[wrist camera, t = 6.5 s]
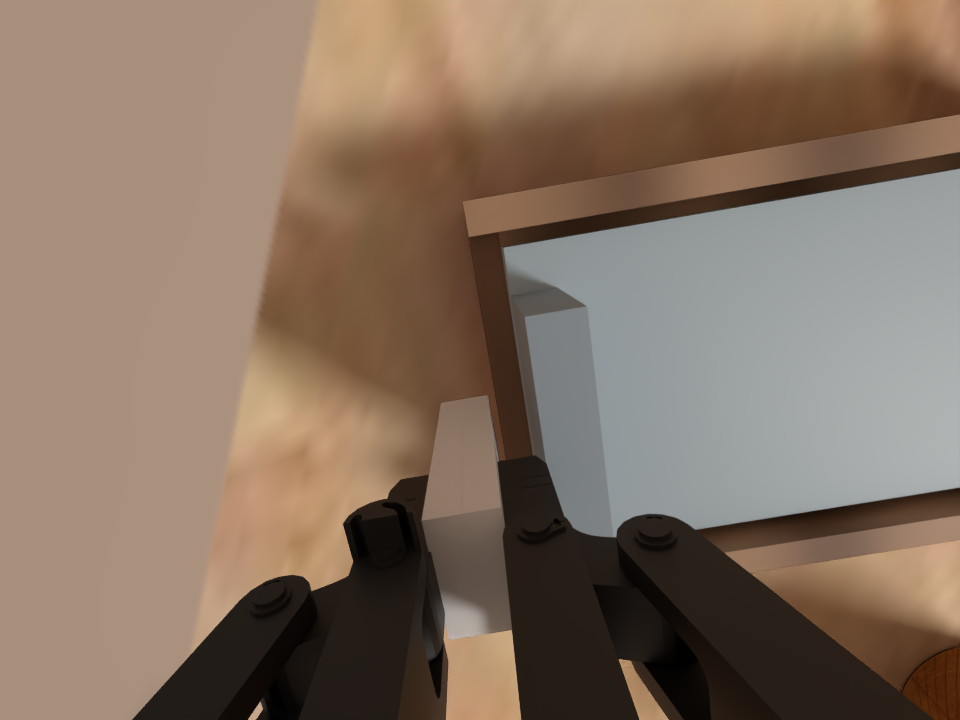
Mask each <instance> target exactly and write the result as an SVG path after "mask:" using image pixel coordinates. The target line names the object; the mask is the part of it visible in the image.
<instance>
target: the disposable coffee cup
mask: <svg viewBox="0 0 960 720" xmlns="http://www.w3.org/2000/svg"><path fill="white" fill-rule="evenodd" d="M902 694H903V695H904V696H905V697H907V698H908V699H909V700H910V701H912V702H913V703H914V704H915V705H917V706H918V707H919V708H920V709H922V710H923V711H924V712H925V713H927V714H928V715H929V716H930V717H932V718H933V719H934V720H960V647H957V648H953V649H950V650H947V651H944V652H942V653H940V654H938V655H936V656H935V657H933V658H931V659H929V660H928V661H926V662H925V663H924V664H922V665H921V666H920V667H919V668H918V669H917V670H916V671H915V672H914V673H913V674H912V676H911V677H910V679H909V680H908V682H907V683H906V685H905V687H904V689H903V692H902Z"/></svg>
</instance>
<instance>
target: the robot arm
mask: <svg viewBox="0 0 960 720" xmlns="http://www.w3.org/2000/svg"><path fill="white" fill-rule="evenodd" d="M343 526H344V529H345V533H346V537H347V540H348V544H349V547H350V551H351V555H352V558H353V565H352V567H351V570H350V573H349V576H347V577H346V578H344V579H341V580H339V581H337V582H335V583H332V584H330V585H327V586H325V587H322V588H319V589H317V590H314V591H311V587H310V584H309V582H308V581H307V580H306V579H305V578H304V577H301V576H296V575H289V576H282V577H277V578H274V579H272V580H268V581H266V582H264V583H263V584H261V585H259V586H258V587H256V588H254V589H253V590H251V591H250V592H249V593H248V594H247V595H245V596H244V597H243V598H242V599H241V600H240V601H239V602H238V603H237V604H236V605H235V606H234V607H233V609H232V610H231V611H230V612H229V613H228V614H227V615H226V616H225V617H224V619H223V620H222V621H221V622H220V623H219V624H218V625H217V626H216V627H215V629H214V630H213V631H212V632H211V633H210V634H209V635H208V636H207V637H206V639H205V640H204V641H203V642H202V643H201V644H200V645H199V646H198V647H197V648H196V650H195V651H194V652H193V653H192V654H191V655H190V656H189V657H188V658H187V660H186V661H185V662H184V663H183V664H182V665H181V666H180V667H179V669H178V670H177V671H176V672H175V673H174V674H173V675H172V676H171V677H170V678H169V680H168V681H167V682H166V683H165V684H164V685H163V686H162V687H161V689H159V691H158V692H157V693H156V694H155V695H154V696H153V697H152V698H151V699H150V701H149V702H148V703H147V704H146V705H145V706H144V707H143V708H142V710H141V711H140V712H139V713H138V714H137V715H136V716H135V717H134V718H133V720H248V719H249V717H250V716H251V714H252V713H253V711H254V710H255V708H256V707H257V705H258V704H259V702H260V701H261V704H262V707H263V710H262V712H261V713H260V715H259V716H258V718H257V719H256V720H446V703H447V681H448V658H447V653H446V649H445V644H444V640H443V638H444V623H445V625H446V629H447V634H448V638H449V640H452V639H458V638H464V637H470V636H477V635H483V634H489V633H495V632H502V631H508V630H512V634H513V644H514V653H515V663H516V672H517V682H518V692H519V701H520V711H521V720H639V717H638V714H637V712H636V709H635V706H634V703H633V700H632V697H631V694H630V691H629V688H628V686H627V683H626V680H625V677H624V674H623V671H622V668H621V665H620V662H619V660H618V659H623V660H631V662H632V664H633V666H634V669H635V671H636V673H637V674H638V675H639V677H640V678H641V680H642V681H643V683H644V684H645V686H646V687H647V688H648V690H649V691H650V693H651V694H652V696H653V697H654V699H655V700H656V702H657V703H658V704H659V706H660V707H661V709H662V710H663V712H664V713H665V715H666V716H667V718H668V719H669V720H934V719H933V718H932V717H930V716H929V715H928V714H927V713H925V712H924V711H923V710H922V709H920V708H919V707H918V706H917V705H915V704H914V703H913V702H912V701H910V700H909V699H908V698H907V697H905V696H904V695H903V694H901V693H900V692H899V691H898V690H896V689H895V688H894V687H893V686H891V685H890V684H889V683H888V682H886V681H885V680H884V679H883V678H881V677H880V676H879V675H878V674H876V673H875V672H874V671H873V670H871V669H870V668H869V667H867V666H866V665H865V664H864V663H862V662H861V661H860V660H859V659H857V658H856V657H855V656H854V655H852V654H851V653H850V652H849V651H847V650H846V649H845V648H844V647H842V646H841V645H840V644H839V643H837V642H836V641H835V640H833V639H832V638H831V637H830V636H828V635H827V634H826V633H825V632H823V631H822V630H821V629H820V628H818V627H817V626H816V625H815V624H813V623H812V622H811V621H810V620H808V619H807V618H806V617H805V616H803V615H802V614H801V613H799V612H798V611H797V610H796V609H794V608H793V607H792V606H791V605H789V604H788V603H787V602H786V601H784V600H783V599H782V598H781V597H779V596H778V595H777V594H776V593H774V592H773V591H772V590H770V589H769V588H768V587H767V586H765V585H764V584H763V583H762V582H760V581H759V580H758V579H757V578H755V577H754V576H753V575H752V574H750V573H749V572H748V571H747V570H745V569H744V568H743V567H742V566H740V565H739V564H738V563H736V562H735V561H734V560H733V559H731V558H730V557H729V556H728V555H726V554H725V553H724V552H723V551H721V550H720V549H719V548H718V547H716V546H715V545H714V544H713V543H711V542H710V541H709V540H708V539H706V538H705V537H704V536H702V535H701V534H700V533H699V532H697V531H696V530H695V529H694V528H692V527H691V526H690V525H689V524H687V523H685V522H683V521H682V520H680V519H678V518H675V517H671V516H667V515H663V514H644V515H639V516H634V517H632V518H630V519H628V520H626V521H624V522H623V523H622V524H621V525H620V527H619V528H618V529H617V535H616V537H601V536H593V535H589V534H585V533H582V532H580V531H578V530H576V529H574V528H573V527H572V524H571V523H570V522H569V520H568V519H567V518H566V517H564V514H563V511H562V508H561V505H560V502H559V499H558V496H557V493H556V490H555V487H554V485H553V481H552V478H551V476H550V472H549V469H548V466H547V463H546V462H544V461H543V460H541V459H540V458H539V457H537V456H536V455H534V456H528V457H523V458H517V459H511V460H505V461H500V459H499V453H498V448H497V442H496V437H495V431H494V425H493V420H492V414H491V409H490V403H489V397H488V395H483V396H478V397H472V398H466V399H460V400H454V401H449V402H443V403H441V406H440V412H439V418H438V424H437V430H436V436H435V442H434V448H433V454H432V460H431V466H430V472H429V475H425V476H419V477H413V478H407V479H401V480H400V481H399V482H398V483H397V484H396V485H395V486H394V487H393V488H392V489H391V490H390V492H389V496H388V499H383V500H379V501H375V502H372V503H369V504H367V505H365V506H363V507H361V508H359V509H357V510H356V511H355V512H353V513H352V514H351V515H349V516H348V518H347V519H346V520H345V522H344V523H343Z"/></svg>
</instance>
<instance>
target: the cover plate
mask: <svg viewBox="0 0 960 720" xmlns="http://www.w3.org/2000/svg"><path fill="white" fill-rule="evenodd" d="M501 250H502V257H503V263H504V270H505V276H506V283H507V289H508V296H509V303H510V309H511V316H512V322H513V329H514V335H515V342H516V348H517V355H518V361H519V368H520V374H521V381H522V387H523V394H524V400H525V407H526V413H527V420H528V426H529V433H530V439H531V446H532V453H533V456H534V455H536V456H537V457H539V458H540V459H541V460H543V461H544V462H546V463H547V466H548V469H549V472H550V476H551V478H552V481H553V485H554V487H555V490H556V493H557V496H558V499H559V502H560V505H561V508H562V511H563V514H564V517H566V518H567V519H568V520H569V522H570V523H571V524H572V527H573V528H574V529H576V530H578V531H580V532H582V533H585V534H589V535H593V536H601V537H616V535H617V529H618V528H619V527H620V525H621V524H622V523H623V522H624V521H626V520H628V519H630V518H632V517H634V516H639V515H644V514H663V515H667V516H671V517H675V518H678V519H680V520H682V521H683V522H685V523H687V524H689V525H690V526H691V527H692V528H694V529H695V530H697V529H704V528H710V527H716V526H722V525H729V524H735V523H741V522H747V521H754V520H760V519H766V518H772V517H779V516H785V515H791V514H797V513H804V512H810V511H816V510H822V509H829V508H835V507H841V506H847V505H854V504H860V503H866V502H872V501H879V500H885V499H891V498H898V497H904V496H910V495H916V494H923V493H929V492H935V491H941V490H948V489H954V488H960V167H959V168H953V169H947V170H941V171H936V172H930V173H924V174H918V175H913V176H907V177H901V178H895V179H889V180H884V181H878V182H872V183H866V184H860V185H855V186H849V187H843V188H837V189H832V190H826V191H820V192H814V193H808V194H803V195H797V196H791V197H785V198H780V199H774V200H768V201H762V202H756V203H751V204H745V205H739V206H733V207H727V208H722V209H716V210H710V211H704V212H699V213H693V214H687V215H681V216H675V217H670V218H664V219H658V220H652V221H647V222H641V223H635V224H629V225H623V226H618V227H612V228H606V229H600V230H594V231H589V232H583V233H577V234H571V235H566V236H560V237H554V238H548V239H542V240H537V241H531V242H525V243H519V244H514V245H508V246H502V247H501Z"/></svg>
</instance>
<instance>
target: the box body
mask: <svg viewBox="0 0 960 720" xmlns="http://www.w3.org/2000/svg"><path fill="white" fill-rule="evenodd" d="M959 167H960V115H954V116H948V117H942V118H937V119H931V120H925V121H920V122H914V123H908V124H902V125H897V126H891V127H885V128H880V129H874V130H868V131H862V132H857V133H851V134H845V135H840V136H834V137H828V138H823V139H817V140H811V141H805V142H800V143H794V144H788V145H783V146H777V147H771V148H765V149H760V150H754V151H748V152H743V153H737V154H731V155H725V156H720V157H714V158H708V159H703V160H697V161H691V162H685V163H680V164H674V165H668V166H663V167H657V168H651V169H645V170H640V171H634V172H628V173H623V174H617V175H611V176H605V177H600V178H594V179H588V180H583V181H577V182H571V183H566V184H560V185H554V186H548V187H543V188H537V189H531V190H526V191H520V192H514V193H508V194H503V195H497V196H491V197H486V198H480V199H474V200H468V201H463V207H464V213H465V218H466V224H467V230H468V236H469V242H470V247H471V253H472V259H473V265H474V271H475V277H476V283H477V289H478V295H479V301H480V307H481V313H482V319H483V324H484V330H485V336H486V342H487V348H488V354H489V360H490V366H491V372H492V378H493V384H494V390H495V396H496V402H497V407H498V413H499V419H500V425H501V431H502V437H503V443H504V449H505V455H506V460H511V459H517V458H523V457H528V456H533V453H532V446H531V439H530V433H529V426H528V420H527V413H526V407H525V400H524V394H523V387H522V381H521V374H520V368H519V361H518V355H517V348H516V342H515V335H514V329H513V322H512V316H511V309H510V303H509V296H508V289H507V283H506V276H505V270H504V263H503V257H502V250H501V247H502V246H508V245H514V244H519V243H525V242H531V241H537V240H542V239H548V238H554V237H560V236H566V235H571V234H577V233H583V232H589V231H594V230H600V229H606V228H612V227H618V226H623V225H629V224H635V223H641V222H647V221H652V220H658V219H664V218H670V217H675V216H681V215H687V214H693V213H699V212H704V211H710V210H716V209H722V208H727V207H733V206H739V205H745V204H751V203H756V202H762V201H768V200H774V199H780V198H785V197H791V196H797V195H803V194H808V193H814V192H820V191H826V190H832V189H837V188H843V187H849V186H855V185H860V184H866V183H872V182H878V181H884V180H889V179H895V178H901V177H907V176H913V175H918V174H924V173H930V172H936V171H941V170H947V169H953V168H959ZM696 531H697V532H699V533H700V534H701V535H702V536H704V537H705V538H706V539H708V540H709V541H710V542H711V543H713V544H714V545H715V546H716V547H718V548H719V549H720V550H721V551H723V552H724V553H725V554H726V555H728V556H729V557H730V558H731V559H733V560H734V561H735V562H736V563H738V564H739V565H740V566H742V567H743V568H744V569H745V570H747V571H748V572H749V573H754V572H760V571H766V570H773V569H779V568H786V567H792V566H798V565H805V564H811V563H817V562H824V561H830V560H836V559H843V558H849V557H855V556H862V555H868V554H874V553H881V552H887V551H893V550H900V549H906V548H912V547H919V546H925V545H931V544H938V543H944V542H950V541H957V540H960V488H954V489H948V490H941V491H935V492H929V493H923V494H916V495H910V496H904V497H898V498H891V499H885V500H879V501H872V502H866V503H860V504H854V505H847V506H841V507H835V508H829V509H822V510H816V511H810V512H804V513H797V514H791V515H785V516H779V517H772V518H766V519H760V520H754V521H747V522H741V523H735V524H729V525H722V526H716V527H710V528H704V529H697V530H696Z"/></svg>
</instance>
